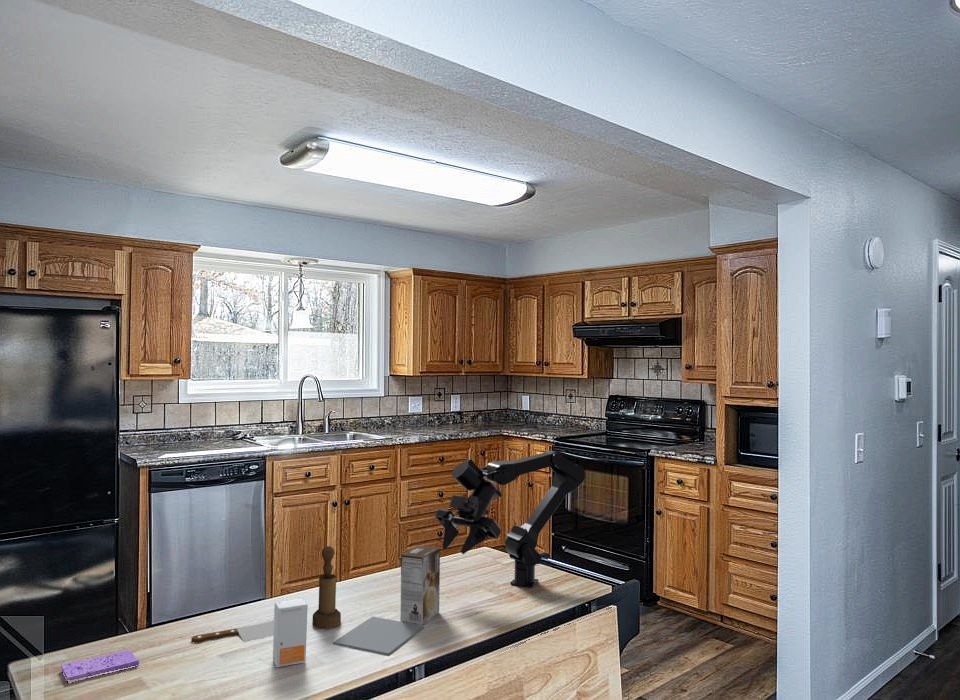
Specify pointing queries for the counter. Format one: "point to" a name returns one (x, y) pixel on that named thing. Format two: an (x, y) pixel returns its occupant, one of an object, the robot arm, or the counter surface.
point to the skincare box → (290, 632)
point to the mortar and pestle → (327, 595)
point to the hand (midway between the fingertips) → (452, 550)
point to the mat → (379, 635)
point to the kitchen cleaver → (240, 633)
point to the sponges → (99, 665)
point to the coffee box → (420, 584)
